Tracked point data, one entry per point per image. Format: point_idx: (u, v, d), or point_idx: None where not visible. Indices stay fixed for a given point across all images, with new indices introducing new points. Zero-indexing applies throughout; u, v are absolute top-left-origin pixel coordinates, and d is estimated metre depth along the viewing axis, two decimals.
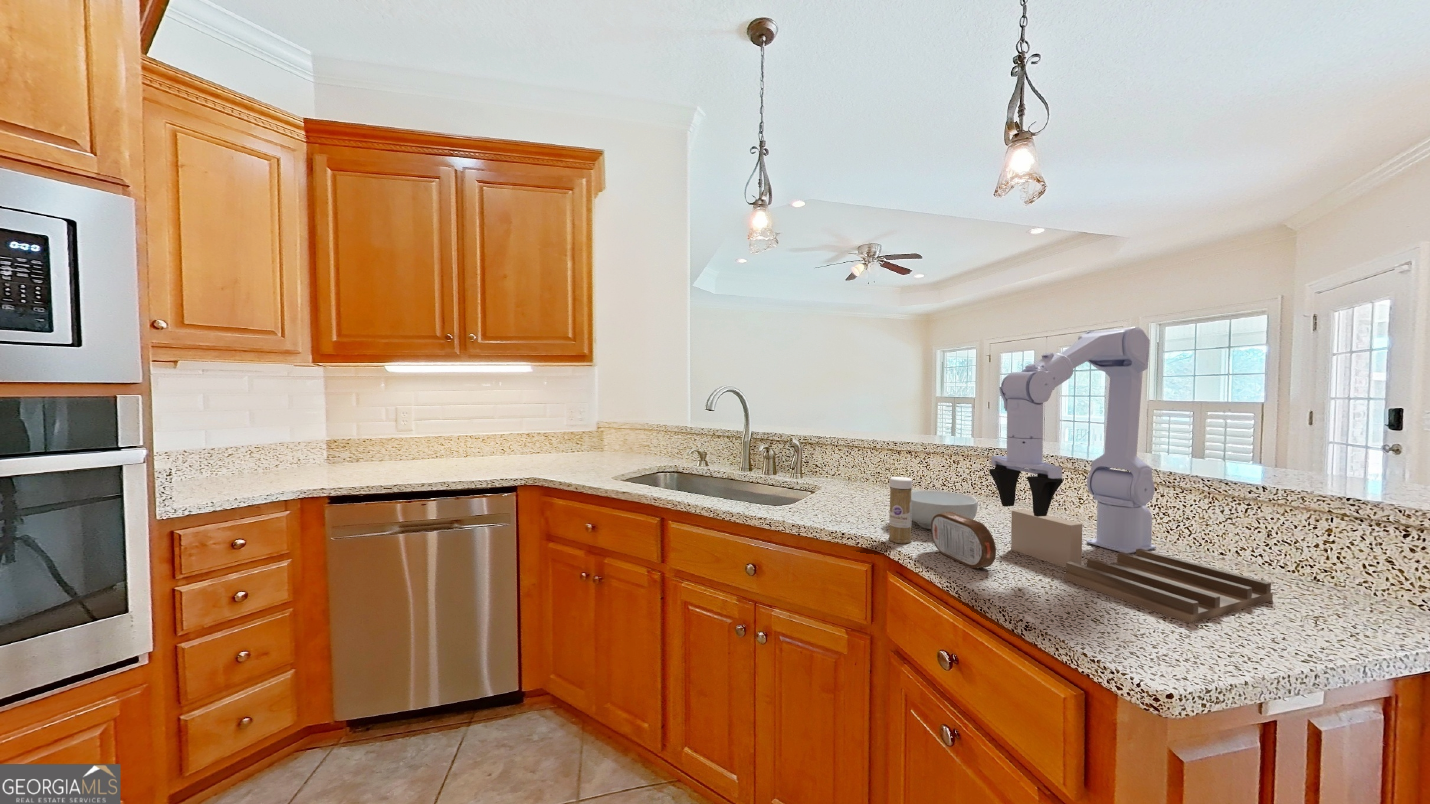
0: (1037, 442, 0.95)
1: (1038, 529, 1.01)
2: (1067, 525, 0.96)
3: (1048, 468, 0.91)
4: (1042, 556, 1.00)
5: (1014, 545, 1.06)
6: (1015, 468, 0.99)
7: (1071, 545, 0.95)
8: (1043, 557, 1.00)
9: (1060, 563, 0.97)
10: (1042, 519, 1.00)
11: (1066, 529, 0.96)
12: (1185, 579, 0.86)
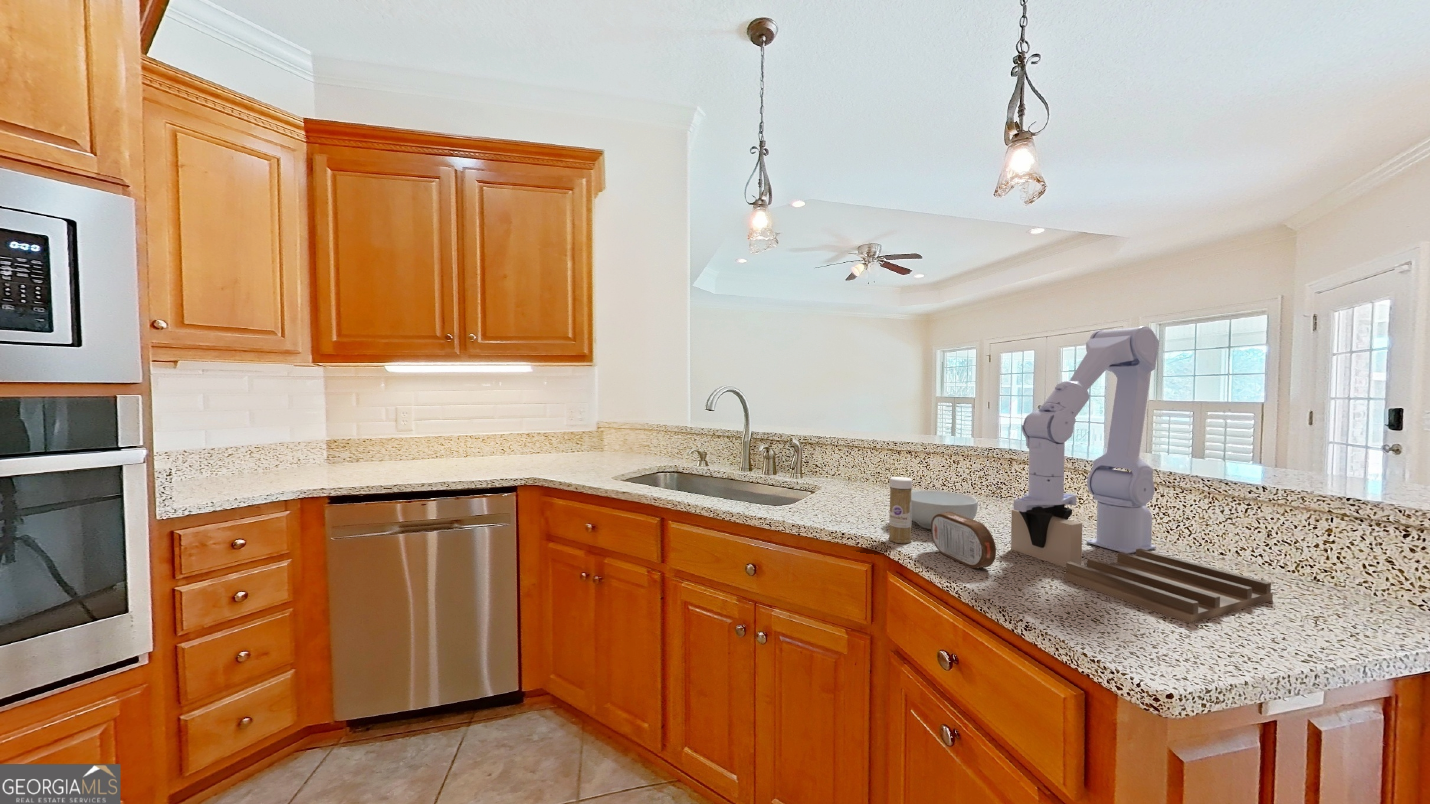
0: (1035, 478, 1.00)
1: None
2: (1067, 524, 0.96)
3: None
4: (1042, 555, 1.00)
5: (1014, 545, 1.06)
6: None
7: (1071, 544, 0.95)
8: (1043, 556, 1.00)
9: (1060, 562, 0.97)
10: None
11: (1066, 529, 0.96)
12: (1185, 579, 0.86)
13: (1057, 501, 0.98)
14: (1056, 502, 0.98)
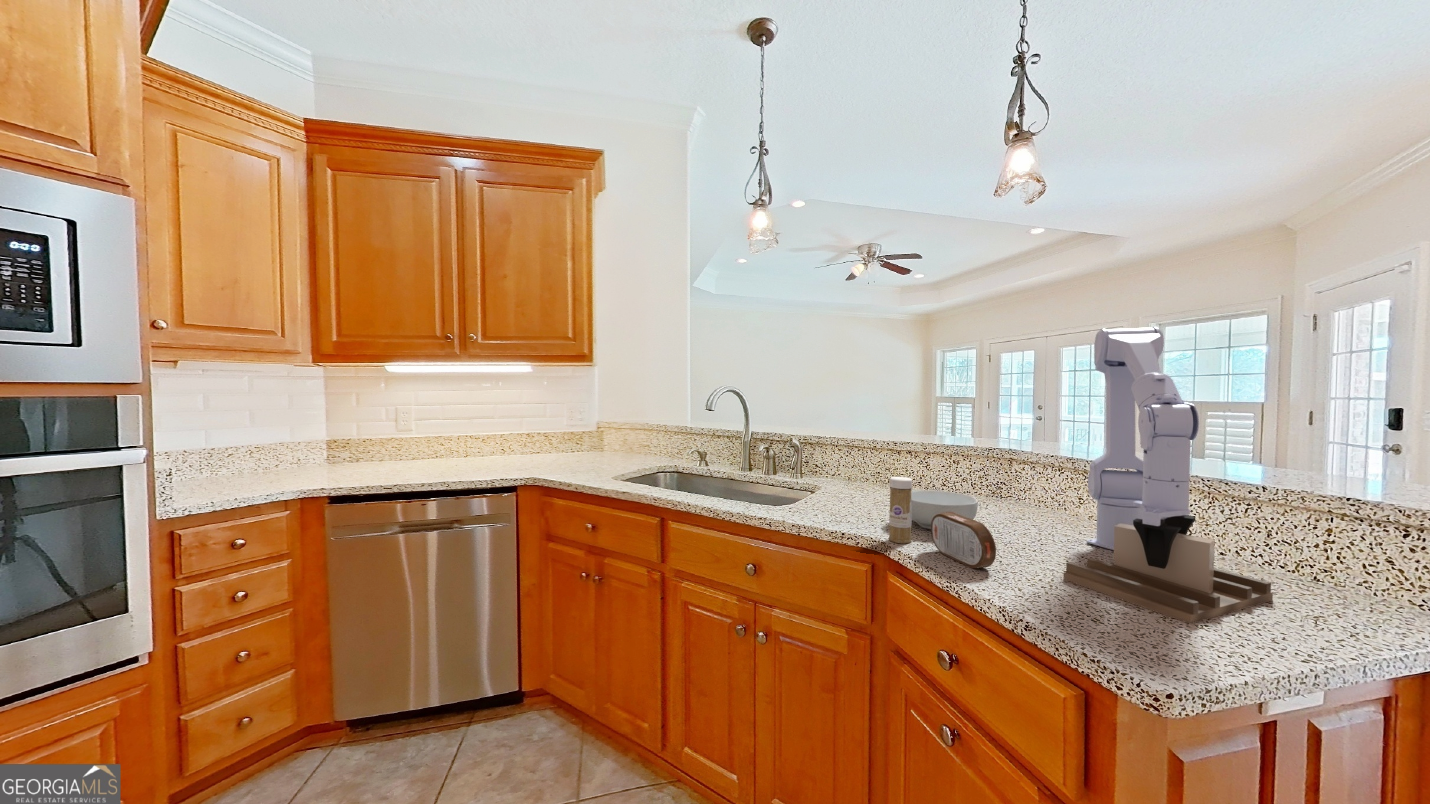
0: (1160, 484, 0.84)
1: None
2: (1203, 543, 0.81)
3: None
4: None
5: None
6: None
7: (1209, 566, 0.80)
8: None
9: None
10: None
11: (1201, 548, 0.81)
12: None
13: (1186, 510, 0.83)
14: (1186, 512, 0.83)
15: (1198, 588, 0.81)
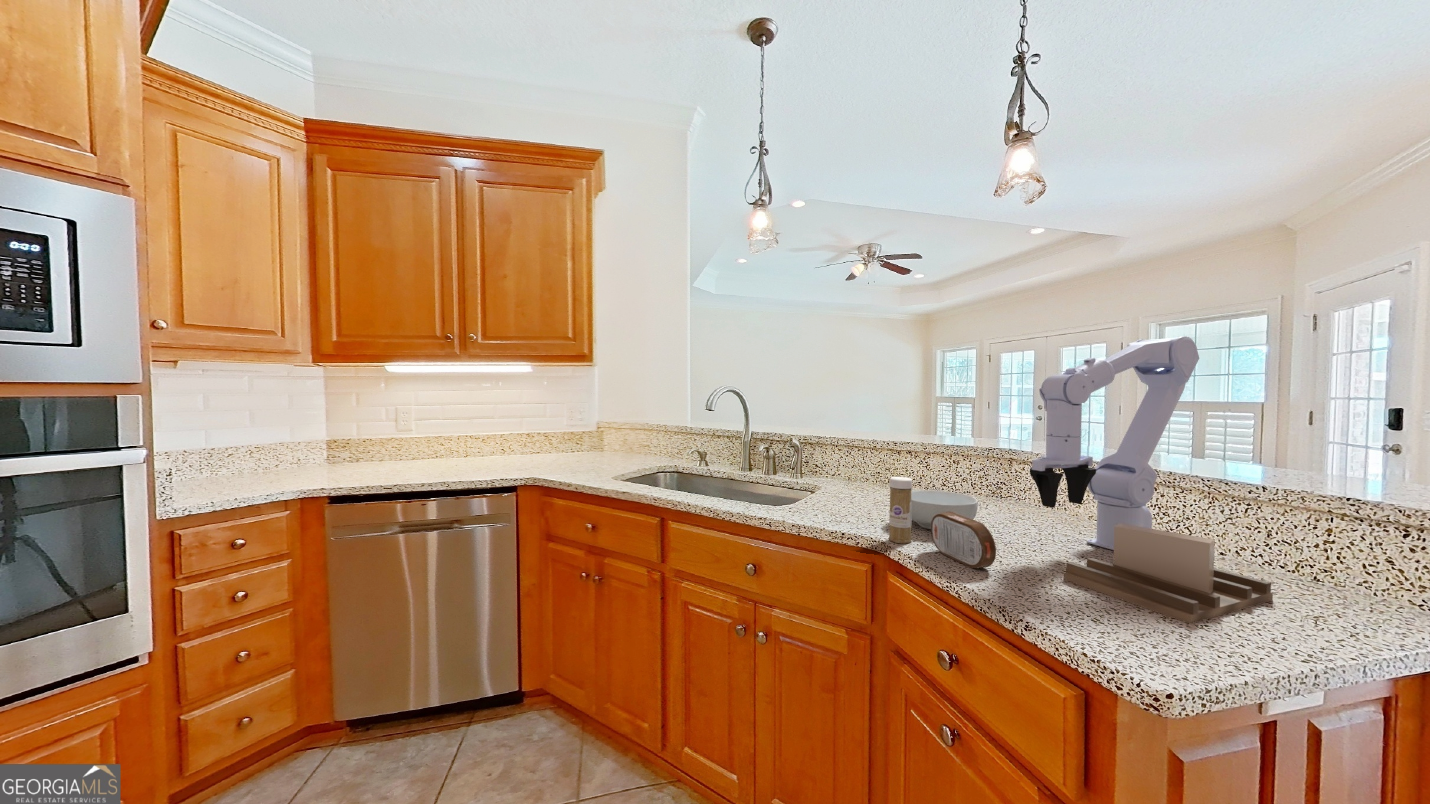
0: (1053, 439, 1.03)
1: (1156, 548, 0.85)
2: (1203, 543, 0.81)
3: None
4: None
5: None
6: None
7: (1209, 566, 0.80)
8: None
9: None
10: (1163, 536, 0.85)
11: (1201, 548, 0.81)
12: None
13: (1075, 461, 1.01)
14: (1074, 462, 1.01)
15: (1198, 588, 0.81)
